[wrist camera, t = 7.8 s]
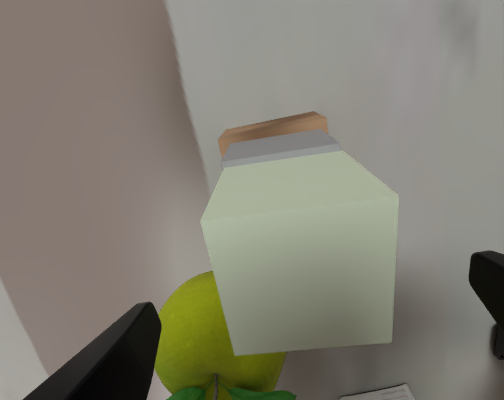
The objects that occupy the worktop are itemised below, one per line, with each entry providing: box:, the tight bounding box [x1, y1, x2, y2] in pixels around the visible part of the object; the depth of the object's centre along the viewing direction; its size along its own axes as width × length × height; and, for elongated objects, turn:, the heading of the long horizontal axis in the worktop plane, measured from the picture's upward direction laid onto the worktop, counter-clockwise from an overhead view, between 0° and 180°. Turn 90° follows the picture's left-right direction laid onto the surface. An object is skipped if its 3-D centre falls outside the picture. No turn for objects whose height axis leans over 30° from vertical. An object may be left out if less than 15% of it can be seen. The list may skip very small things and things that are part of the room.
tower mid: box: [221, 129, 341, 171], centre depth 14 cm, size 5×5×4 cm
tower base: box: [218, 111, 328, 158], centre depth 18 cm, size 6×6×4 cm
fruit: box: [154, 271, 297, 400], centre depth 19 cm, size 9×9×10 cm
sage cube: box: [200, 151, 399, 356], centre depth 10 cm, size 5×5×5 cm
